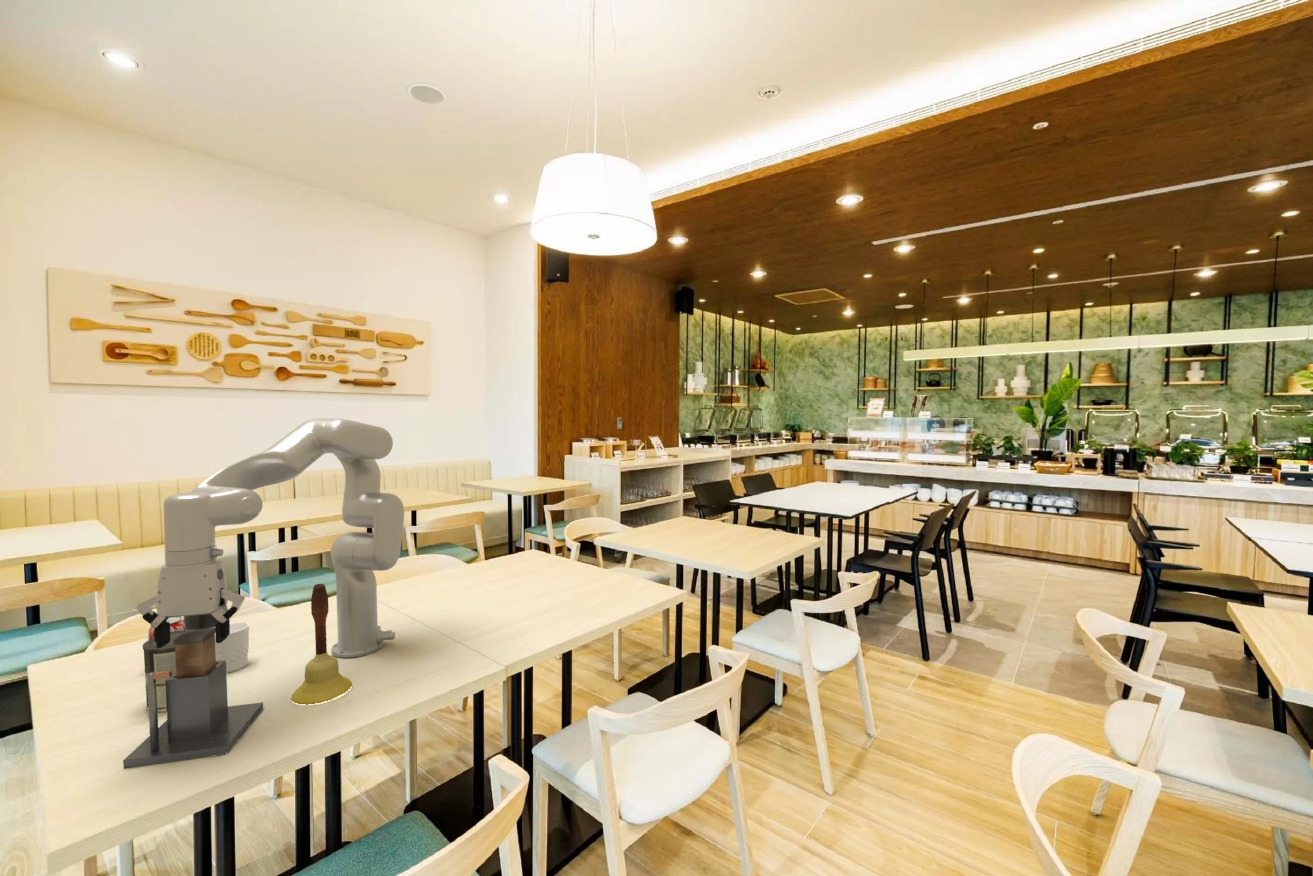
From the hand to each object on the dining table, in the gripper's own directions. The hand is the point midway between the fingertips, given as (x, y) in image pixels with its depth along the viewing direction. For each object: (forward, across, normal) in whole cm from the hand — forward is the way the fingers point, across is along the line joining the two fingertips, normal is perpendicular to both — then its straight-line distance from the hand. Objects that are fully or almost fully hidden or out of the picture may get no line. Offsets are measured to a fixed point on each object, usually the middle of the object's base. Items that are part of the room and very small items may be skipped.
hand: (193, 642), depth 108 cm
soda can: (+19, +23, -37) cm, 47 cm away
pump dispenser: (+19, +24, -57) cm, 64 cm away
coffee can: (+19, +12, -18) cm, 29 cm away
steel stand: (+19, 0, -1) cm, 19 cm away
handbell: (+19, -18, -14) cm, 30 cm away
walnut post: (+17, 0, -1) cm, 17 cm away
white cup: (+19, +8, -33) cm, 39 cm away
